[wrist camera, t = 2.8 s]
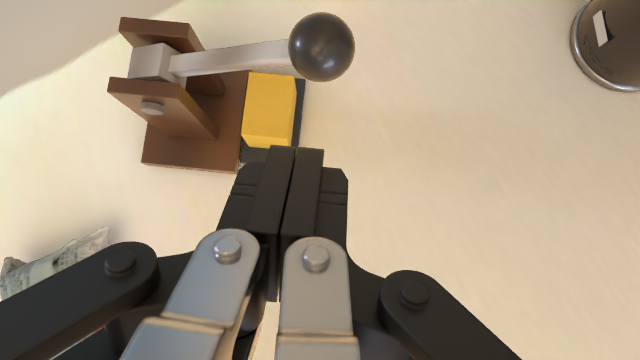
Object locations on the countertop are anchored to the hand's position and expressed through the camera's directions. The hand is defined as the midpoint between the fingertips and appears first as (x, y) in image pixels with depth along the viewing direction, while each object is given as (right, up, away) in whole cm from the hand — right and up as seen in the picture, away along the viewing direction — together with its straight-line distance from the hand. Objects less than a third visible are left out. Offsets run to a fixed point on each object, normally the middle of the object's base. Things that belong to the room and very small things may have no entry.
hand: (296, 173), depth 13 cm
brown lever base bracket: (-10, +6, +26) cm, 29 cm away
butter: (-3, +5, +26) cm, 27 cm away
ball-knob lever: (-4, +7, +15) cm, 17 cm away
